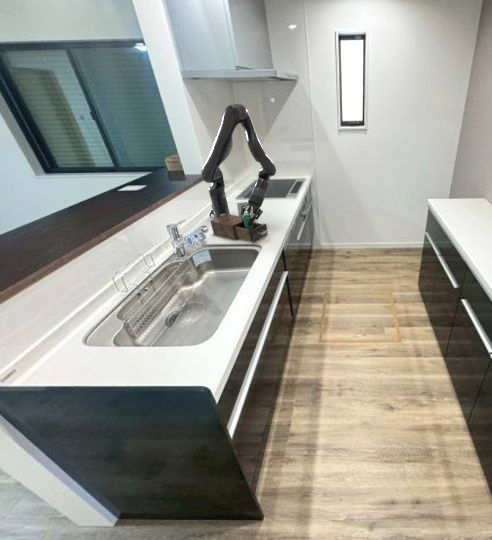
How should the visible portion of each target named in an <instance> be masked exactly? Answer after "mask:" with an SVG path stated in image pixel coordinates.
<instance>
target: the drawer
mask: <svg viewBox="0 0 492 540" xmlns="http://www.w3.org/2000/svg"><path fill="white" fill-rule="evenodd" d="M253 228H254V229H253V230H251V231H250V230H249V229H245V225H243V224H239V225H237V226H234V230H235V234H236V237H237V238H239V239H242V240H246V241H249V242H251V243H252V244H254V243H257V242H258V241H260V240H262V239H264V238H266V237H267V236H269V230H268V226H267V223H259V222H255V221H254V222H253Z"/></svg>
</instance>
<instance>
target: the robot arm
mask: <svg viewBox="0 0 492 540" xmlns="http://www.w3.org/2000/svg"><path fill="white" fill-rule="evenodd" d="M239 124H240V125H241V127H242V129H243V130H244V132H245V137H246V143H247V147H248V149H249V152H250V154H251V156H252V157H253V160H254V161H255V162H256V163H259V164H260V166H261V168H260V169H259V171H258V175H257V180H256V181H255V184H254V186H253V188H252V190H251V193H250V195H249V196H248V199H247V202H248V204H247V206H242V209H241V215H242V216H244V212H248V214H251V219H250V220H249V222H248V225H249V226H251V225H252V224H253V221H254V222H255V221H257V220H259V218H260V217H261V215H262V214H263V212H264V211H263V210H262V209H261V207H262V205H263V203H264V202H265V201H264V200H265V199H266V195H267V192H268V190H269V187H270V179H271V178H272V177H274V176H275V175H276V173H277V168H276V165H275V164H274V162H273V161H272V159H271V158H270V157H269V156H268V155H267V153H266V151H265V149H264V147H263V145H262V143H261V141H260V139H259V138H258V137H259V136H258V134H257V132H256V130H255V129H256V128H255V126H254V124H253V121H252V117H251V116H250V113H249V110H248V109H247V107H246V105H244V104H242V103H231V104H228V105H227V106H226V107H225V109H224V112H223V116H222V119H221V124H220V127H219V128H218V132H217V135H216V137H215V139H214V142H213V145H212V147H211V150H210V152H209V155H208V158H207V159H206V162H205V164H204V165H203V166H202V168H201V171H200V176H201V179H202V181H203V182H204V183H207V184H211V185H210V186H209V187H208V194H209V198H210V201H211V210H210V212H209V215H208V216H209V217H212V215H213V217H214V219H216V218H218V217H221V216H223V215H226V214H231V213H230V207H229V204H228V199H227V195H226V191H225V187H226V185H225V179H224V173H223V171H222V169H221V168H220V166H221V165H222V164H223V163H224V162H225V161H226V160H227V158H228V157H229V155H230V153H231V151H232V149H233V146H234V139H233V134H234V131H235V130H236V128H237V126H238V125H239ZM241 224H243V225H244V221H243V218H242V220H241Z"/></svg>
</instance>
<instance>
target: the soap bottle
mask: <svg viewBox="0 0 492 540" xmlns="http://www.w3.org/2000/svg"><path fill="white" fill-rule="evenodd" d="M250 219H251V216H250V214H248V212H244V216H243V221H244V225H245V229H249V230H250V231H251V230H253V229H254V228H253V224H252V225H251V226H249V225H248V222H249V220H250Z"/></svg>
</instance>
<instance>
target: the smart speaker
mask: <svg viewBox="0 0 492 540" xmlns="http://www.w3.org/2000/svg"><path fill="white" fill-rule="evenodd" d="M247 204H248V201H246V202H236V207H237V214H238V216H240V217H243V216H242V215H241V209H242V206H247ZM250 216H251V214H250ZM253 222H255V220H254V221H253Z"/></svg>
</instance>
